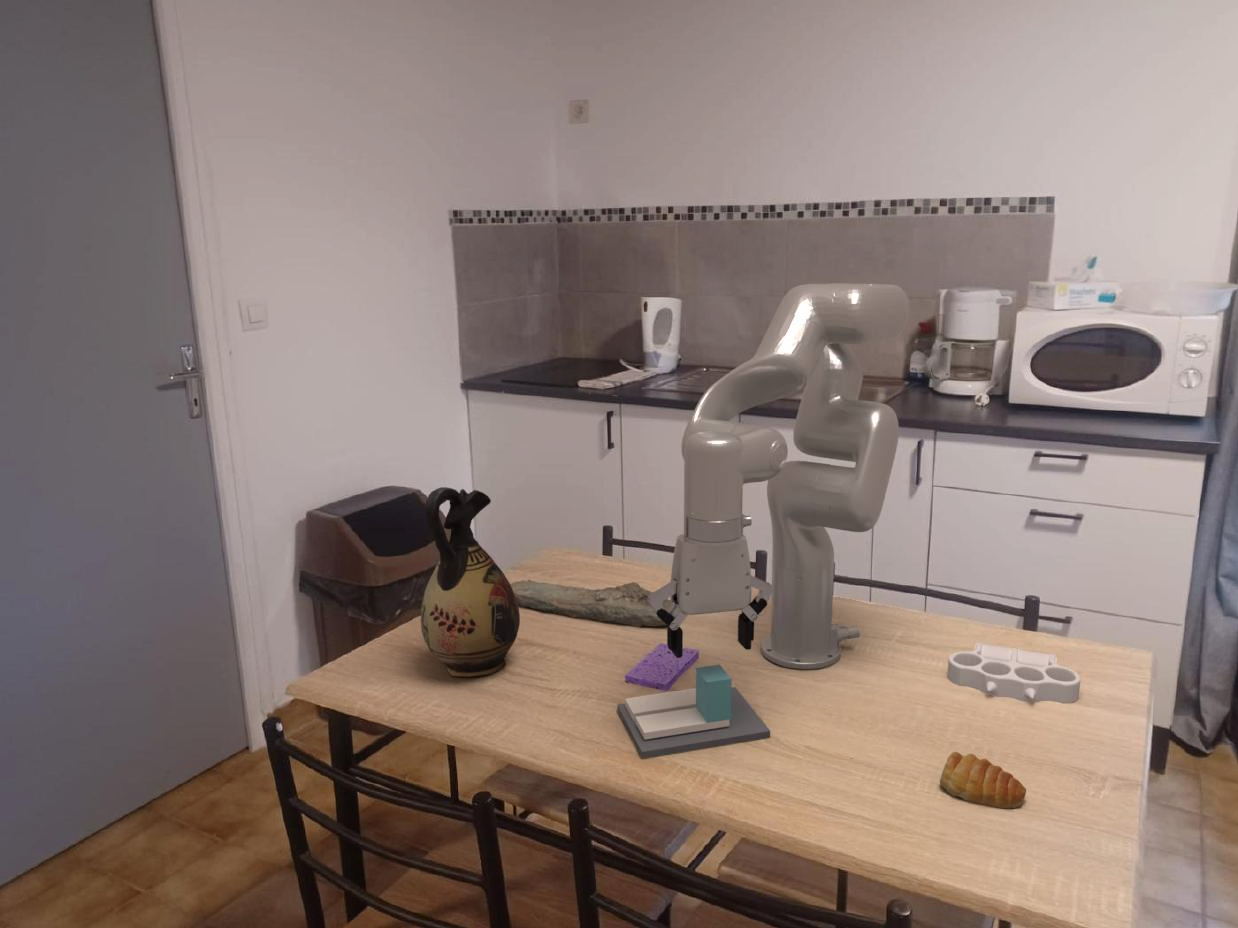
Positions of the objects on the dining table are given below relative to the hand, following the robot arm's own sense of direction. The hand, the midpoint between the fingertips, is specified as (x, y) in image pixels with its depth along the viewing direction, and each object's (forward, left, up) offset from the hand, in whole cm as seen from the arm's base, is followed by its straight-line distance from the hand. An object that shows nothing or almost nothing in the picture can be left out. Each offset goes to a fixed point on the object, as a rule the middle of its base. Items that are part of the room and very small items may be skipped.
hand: (710, 649), depth 125 cm
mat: (+2, -2, -12) cm, 12 cm away
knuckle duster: (-48, 0, -13) cm, 50 cm away
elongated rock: (+7, -46, -13) cm, 48 cm away
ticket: (+4, -5, -11) cm, 13 cm away
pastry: (-26, +22, -13) cm, 37 cm away
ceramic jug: (+30, -29, -12) cm, 44 cm away
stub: (+4, 0, -11) cm, 11 cm away
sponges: (+1, -19, -13) cm, 23 cm away
